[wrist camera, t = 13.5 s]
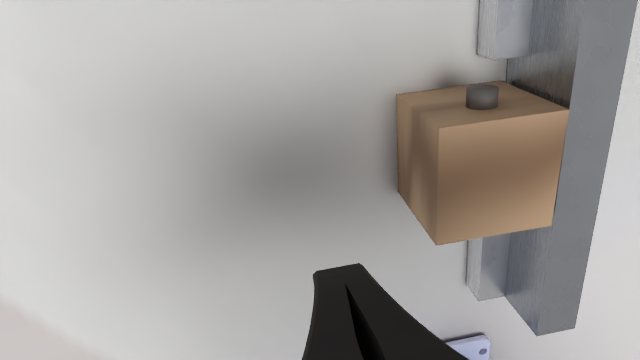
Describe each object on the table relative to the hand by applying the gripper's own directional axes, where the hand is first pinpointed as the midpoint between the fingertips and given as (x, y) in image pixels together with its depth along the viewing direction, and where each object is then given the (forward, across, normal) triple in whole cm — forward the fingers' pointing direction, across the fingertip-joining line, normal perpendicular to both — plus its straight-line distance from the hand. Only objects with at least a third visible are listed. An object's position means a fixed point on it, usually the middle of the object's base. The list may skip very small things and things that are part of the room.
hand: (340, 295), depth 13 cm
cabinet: (+10, -7, 0) cm, 12 cm away
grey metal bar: (+9, -11, +1) cm, 15 cm away
